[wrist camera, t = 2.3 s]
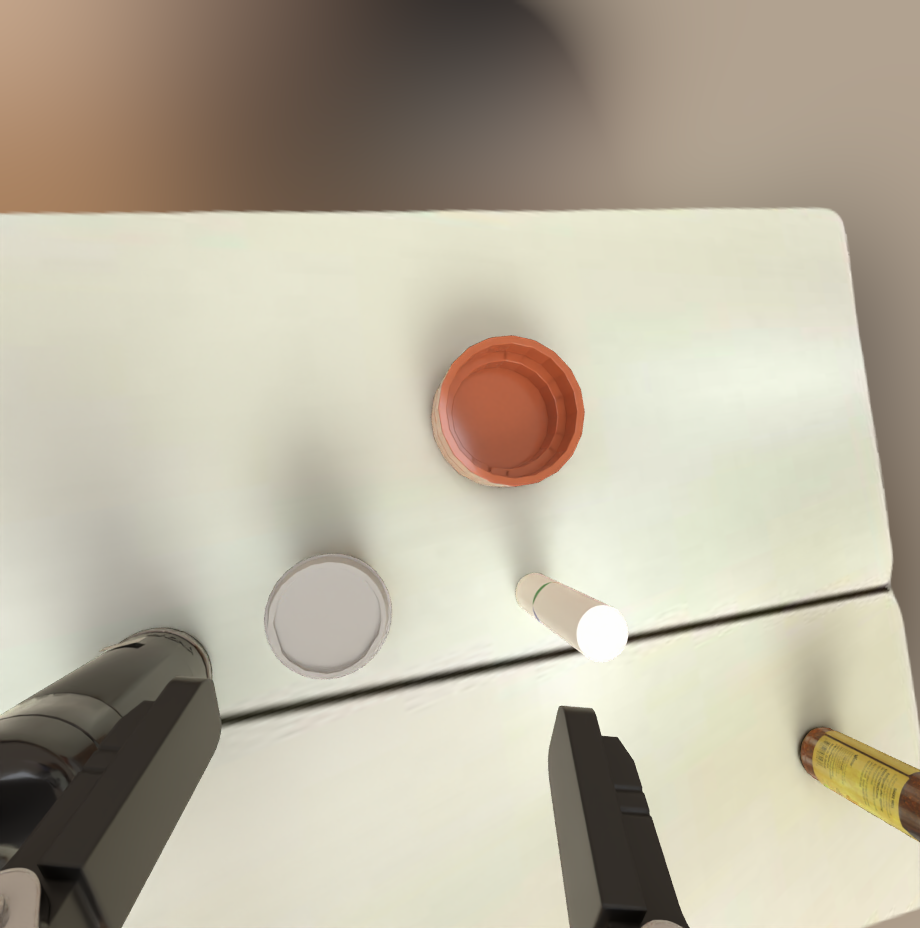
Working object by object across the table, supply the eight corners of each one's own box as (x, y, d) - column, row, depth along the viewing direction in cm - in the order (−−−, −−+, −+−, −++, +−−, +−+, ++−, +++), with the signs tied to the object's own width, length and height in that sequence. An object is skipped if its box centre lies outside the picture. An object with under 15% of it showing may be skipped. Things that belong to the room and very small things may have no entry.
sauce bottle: (806, 786, 55) (1045, 945, 36) (789, 736, 55) (1020, 868, 36) (848, 762, 56) (1100, 903, 37) (832, 713, 56) (1076, 828, 37)
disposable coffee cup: (301, 532, 46) (277, 545, 34) (395, 549, 48) (404, 567, 36) (278, 629, 45) (245, 676, 33) (375, 643, 47) (377, 693, 35)
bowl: (526, 509, 51) (547, 511, 45) (407, 448, 49) (412, 441, 43) (579, 393, 53) (606, 381, 47) (467, 330, 51) (480, 308, 45)
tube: (552, 571, 51) (626, 603, 36) (553, 611, 50) (629, 659, 36) (514, 574, 50) (575, 607, 35) (516, 614, 50) (577, 664, 35)
